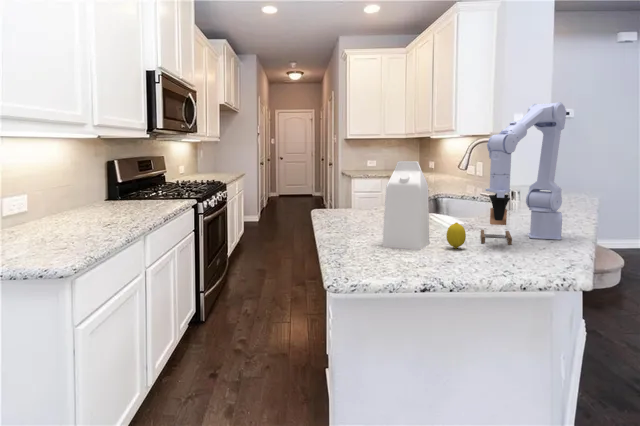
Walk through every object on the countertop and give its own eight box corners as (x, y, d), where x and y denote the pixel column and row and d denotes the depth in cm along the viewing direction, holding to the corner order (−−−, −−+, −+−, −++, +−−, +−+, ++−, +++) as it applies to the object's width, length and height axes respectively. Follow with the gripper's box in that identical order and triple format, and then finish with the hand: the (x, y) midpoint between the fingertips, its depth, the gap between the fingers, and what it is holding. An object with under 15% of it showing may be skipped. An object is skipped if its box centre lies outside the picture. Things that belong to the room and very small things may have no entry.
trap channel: (508, 235, 165) (508, 230, 165) (511, 244, 150) (512, 238, 150) (480, 234, 168) (480, 229, 167) (481, 243, 153) (481, 236, 153)
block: (505, 222, 149) (505, 208, 149) (506, 225, 145) (506, 210, 144) (489, 222, 150) (490, 207, 150) (490, 224, 146) (491, 209, 146)
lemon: (466, 251, 142) (467, 224, 141) (446, 250, 143) (447, 223, 142) (464, 247, 147) (465, 221, 146) (445, 246, 148) (446, 220, 147)
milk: (429, 243, 154) (431, 161, 150) (420, 250, 144) (423, 162, 140) (392, 240, 159) (394, 160, 155) (382, 246, 149) (383, 161, 145)
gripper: (485, 173, 154) (483, 215, 156) (486, 175, 140) (484, 221, 142) (509, 173, 152) (507, 216, 153) (513, 176, 138) (510, 222, 140)
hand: (498, 219), depth 147 cm, fingers closed on block, 4 cm apart
